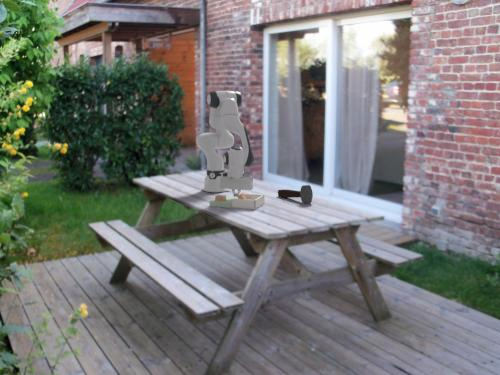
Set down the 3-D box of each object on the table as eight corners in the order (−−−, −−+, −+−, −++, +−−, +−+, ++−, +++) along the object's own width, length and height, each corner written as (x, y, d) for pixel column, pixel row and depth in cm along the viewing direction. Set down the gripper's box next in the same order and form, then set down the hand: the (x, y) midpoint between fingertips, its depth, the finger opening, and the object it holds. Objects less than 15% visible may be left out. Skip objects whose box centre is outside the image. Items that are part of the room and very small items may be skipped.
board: (220, 200, 359) (220, 195, 358) (242, 202, 355) (242, 197, 354) (209, 206, 342) (209, 201, 341) (232, 207, 338) (232, 202, 337)
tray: (242, 202, 355) (242, 193, 354) (264, 203, 350) (264, 194, 350) (232, 207, 338) (232, 198, 337) (255, 209, 334) (255, 200, 333)
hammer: (277, 202, 373) (306, 204, 348) (276, 185, 373) (305, 185, 348) (283, 201, 376) (313, 203, 351) (282, 184, 375) (312, 184, 350)
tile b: (218, 199, 348) (218, 195, 347) (226, 199, 346) (226, 195, 346) (215, 200, 343) (215, 196, 342) (223, 201, 341) (223, 197, 341)
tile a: (240, 195, 351) (243, 192, 351) (244, 201, 351) (248, 199, 350) (237, 196, 347) (240, 194, 346) (242, 203, 347) (245, 201, 346)
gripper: (254, 173, 347) (254, 196, 349) (222, 172, 353) (222, 194, 356) (251, 175, 341) (251, 198, 343) (218, 173, 347) (218, 196, 350)
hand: (236, 196), depth 350 cm, fingers closed
